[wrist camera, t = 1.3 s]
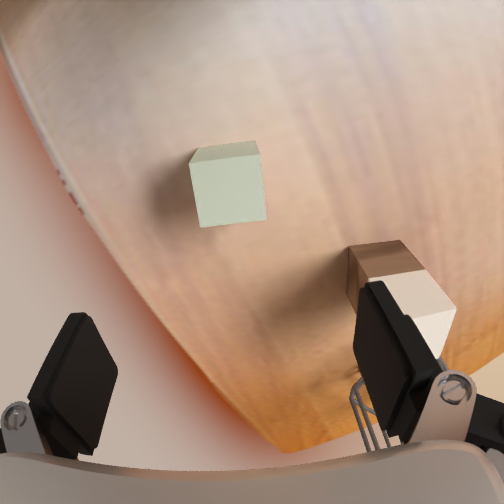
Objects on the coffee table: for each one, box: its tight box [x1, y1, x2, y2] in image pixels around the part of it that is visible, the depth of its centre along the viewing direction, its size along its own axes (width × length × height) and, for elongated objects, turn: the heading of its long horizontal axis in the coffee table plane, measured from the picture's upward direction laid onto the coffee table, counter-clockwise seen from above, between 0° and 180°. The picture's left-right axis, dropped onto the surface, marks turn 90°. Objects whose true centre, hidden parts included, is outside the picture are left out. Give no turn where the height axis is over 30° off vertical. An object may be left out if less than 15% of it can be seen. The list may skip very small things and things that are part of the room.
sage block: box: [189, 141, 267, 228], centre depth 26 cm, size 5×5×6 cm
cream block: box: [368, 269, 457, 359], centre depth 26 cm, size 6×6×6 cm
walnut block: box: [346, 240, 425, 315], centre depth 31 cm, size 6×6×6 cm
